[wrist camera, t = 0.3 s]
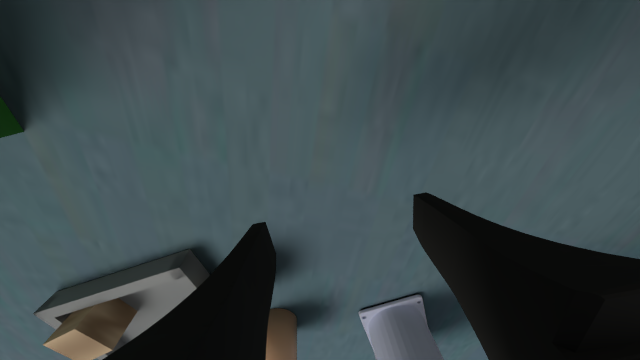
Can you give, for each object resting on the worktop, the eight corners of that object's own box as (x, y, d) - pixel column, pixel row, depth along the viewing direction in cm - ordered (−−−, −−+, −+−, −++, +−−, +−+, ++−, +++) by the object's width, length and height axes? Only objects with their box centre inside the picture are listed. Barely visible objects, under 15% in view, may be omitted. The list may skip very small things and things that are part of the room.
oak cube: (137, 311, 26) (112, 350, 23) (110, 324, 27) (82, 364, 24) (106, 290, 25) (74, 329, 21) (78, 304, 25) (42, 344, 22)
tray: (277, 361, 34) (276, 381, 32) (179, 388, 35) (171, 409, 33) (189, 249, 24) (178, 267, 22) (55, 292, 25) (33, 313, 23)
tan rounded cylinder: (302, 327, 31) (303, 389, 25) (266, 337, 31) (259, 400, 26) (288, 303, 29) (285, 365, 23) (249, 315, 29) (237, 378, 23)
